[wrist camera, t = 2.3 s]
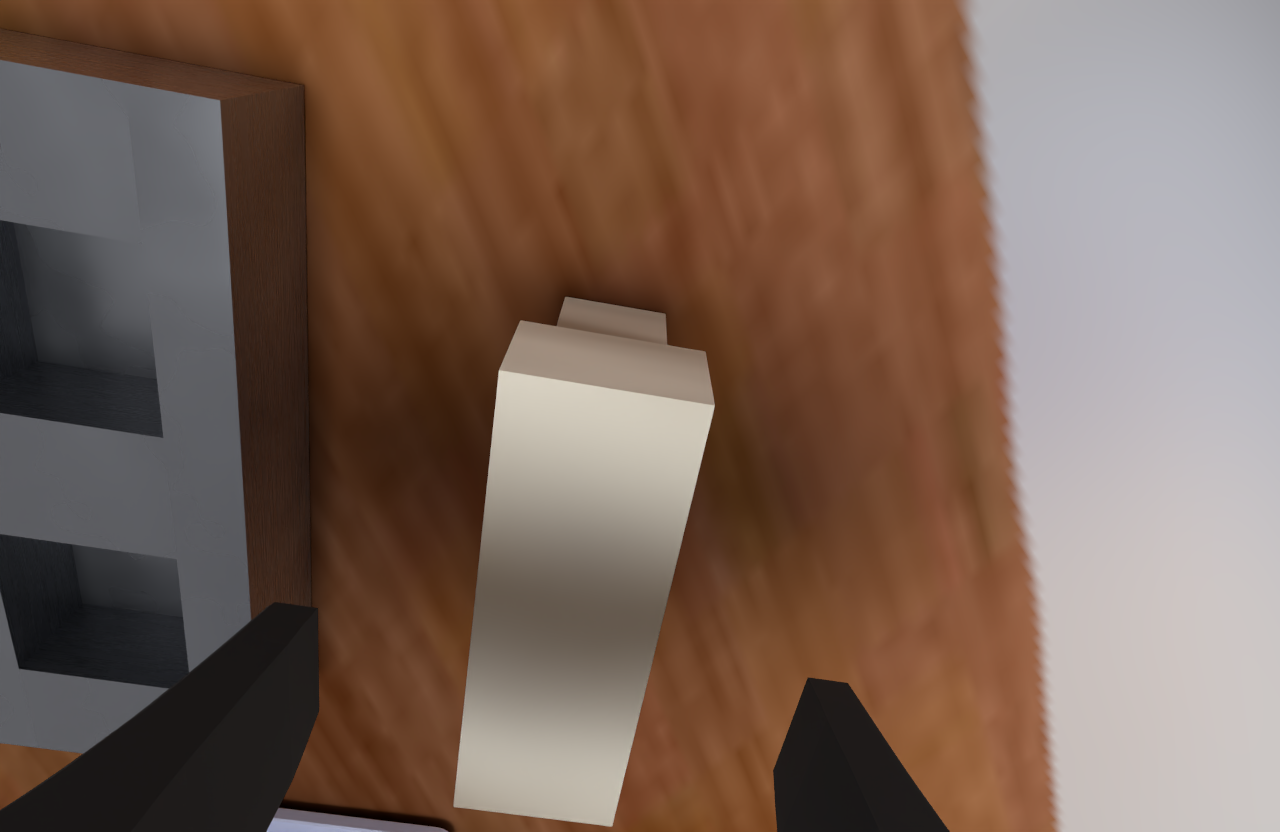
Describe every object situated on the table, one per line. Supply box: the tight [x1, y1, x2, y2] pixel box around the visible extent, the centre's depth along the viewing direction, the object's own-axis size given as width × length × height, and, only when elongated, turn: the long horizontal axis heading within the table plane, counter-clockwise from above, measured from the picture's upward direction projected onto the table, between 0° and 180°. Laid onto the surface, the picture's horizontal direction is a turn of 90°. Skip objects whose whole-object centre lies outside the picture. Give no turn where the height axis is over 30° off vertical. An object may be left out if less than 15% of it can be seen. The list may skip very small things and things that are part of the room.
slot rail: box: [0, 29, 311, 753], centre depth 15 cm, size 14×6×3 cm, turn 170°
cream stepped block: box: [453, 297, 715, 826], centre depth 15 cm, size 9×3×5 cm, turn 170°
